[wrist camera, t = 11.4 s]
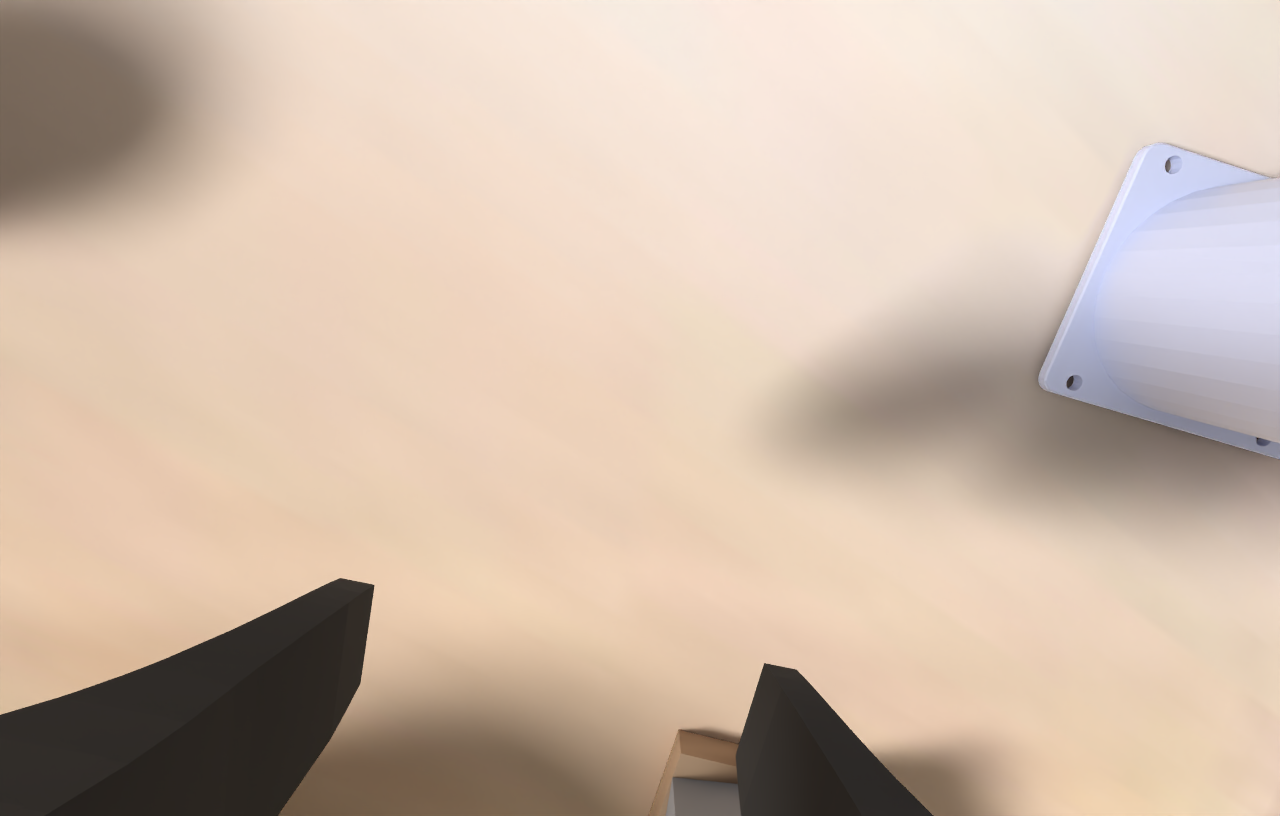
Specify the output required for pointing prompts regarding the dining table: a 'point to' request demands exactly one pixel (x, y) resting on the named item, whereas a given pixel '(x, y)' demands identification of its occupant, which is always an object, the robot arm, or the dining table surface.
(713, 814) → the grey slab
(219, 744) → the robot arm
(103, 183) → the dining table surface
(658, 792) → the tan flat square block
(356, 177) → the dining table surface
